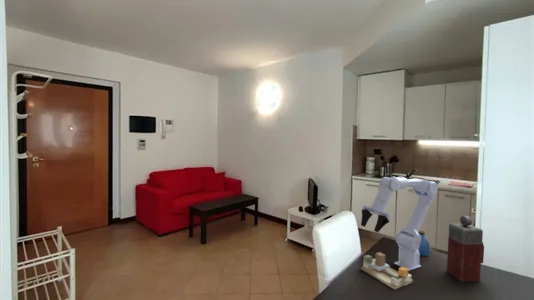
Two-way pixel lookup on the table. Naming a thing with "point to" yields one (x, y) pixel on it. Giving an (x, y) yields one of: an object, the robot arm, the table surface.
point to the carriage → (380, 262)
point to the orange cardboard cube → (403, 272)
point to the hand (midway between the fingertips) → (369, 228)
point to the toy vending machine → (465, 250)
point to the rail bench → (385, 274)
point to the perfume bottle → (423, 244)
